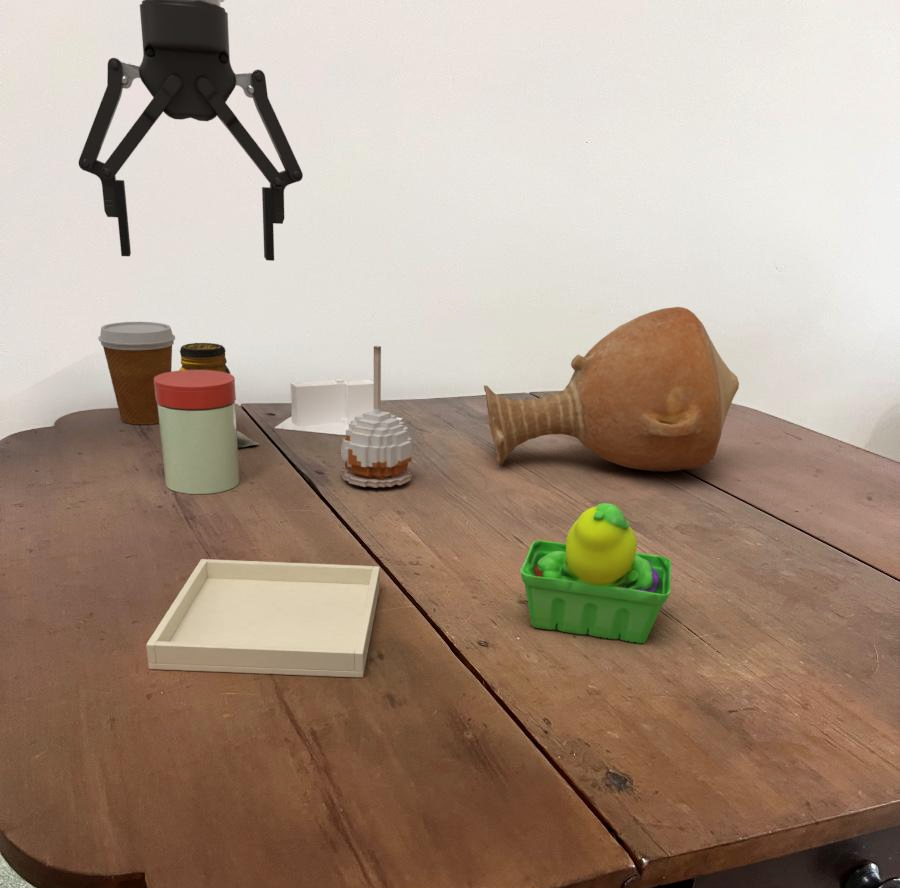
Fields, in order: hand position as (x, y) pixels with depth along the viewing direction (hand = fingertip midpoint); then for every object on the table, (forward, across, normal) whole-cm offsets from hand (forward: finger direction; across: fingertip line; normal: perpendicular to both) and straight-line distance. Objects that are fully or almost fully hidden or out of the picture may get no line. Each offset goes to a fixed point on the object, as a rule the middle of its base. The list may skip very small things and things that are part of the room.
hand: (199, 257), depth 90 cm
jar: (+24, -1, +1) cm, 24 cm away
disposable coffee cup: (+24, -8, +29) cm, 39 cm away
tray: (+23, +4, -34) cm, 42 cm away
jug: (+23, +47, +1) cm, 52 cm away
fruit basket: (+23, +28, -39) cm, 54 cm away
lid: (+12, -1, +1) cm, 13 cm away
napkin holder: (+24, +18, +24) cm, 38 cm away
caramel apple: (+24, +18, -1) cm, 30 cm away
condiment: (+24, +1, +16) cm, 29 cm away
